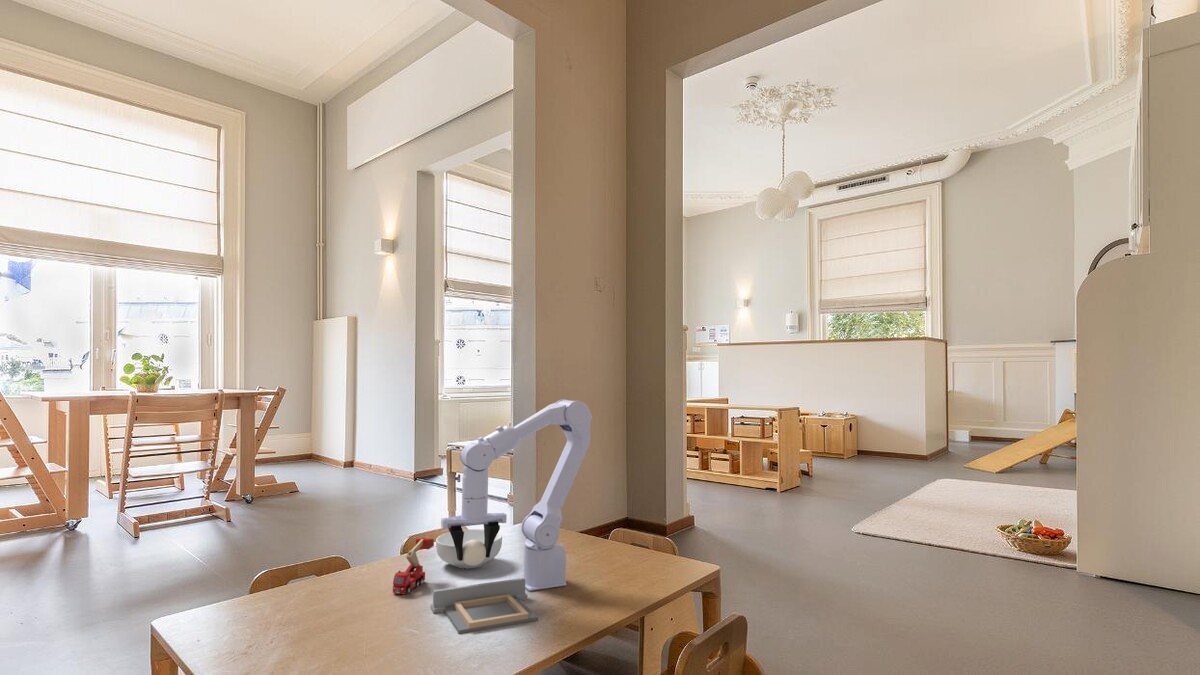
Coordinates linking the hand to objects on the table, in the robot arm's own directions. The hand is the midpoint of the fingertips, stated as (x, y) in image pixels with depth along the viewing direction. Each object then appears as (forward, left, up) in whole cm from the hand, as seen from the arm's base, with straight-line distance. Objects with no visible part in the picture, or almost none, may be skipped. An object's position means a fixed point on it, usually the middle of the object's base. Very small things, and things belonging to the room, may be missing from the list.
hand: (473, 557), depth 139 cm
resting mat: (0, +14, -8) cm, 16 cm away
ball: (0, 0, +1) cm, 1 cm away
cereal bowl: (-5, -22, -8) cm, 24 cm away
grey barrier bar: (0, +6, -8) cm, 10 cm away
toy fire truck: (+11, -11, -8) cm, 18 cm away
